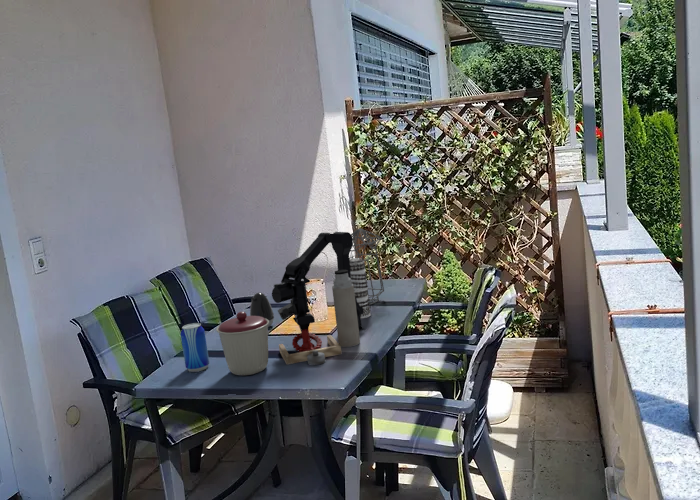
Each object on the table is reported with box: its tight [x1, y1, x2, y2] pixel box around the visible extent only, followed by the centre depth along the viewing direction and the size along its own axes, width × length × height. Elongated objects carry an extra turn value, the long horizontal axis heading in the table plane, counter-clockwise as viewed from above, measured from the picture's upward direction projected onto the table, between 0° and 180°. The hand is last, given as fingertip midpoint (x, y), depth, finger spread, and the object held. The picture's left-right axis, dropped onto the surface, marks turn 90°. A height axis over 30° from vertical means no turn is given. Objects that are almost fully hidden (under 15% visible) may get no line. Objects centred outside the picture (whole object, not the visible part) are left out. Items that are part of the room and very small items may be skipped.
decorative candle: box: [350, 257, 372, 320], centre depth 279 cm, size 9×9×25 cm
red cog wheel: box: [291, 328, 323, 353], centre depth 240 cm, size 11×12×8 cm
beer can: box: [180, 322, 210, 373], centre depth 234 cm, size 8×8×16 cm
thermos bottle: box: [331, 269, 361, 348], centre depth 242 cm, size 8×8×28 cm
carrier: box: [278, 334, 343, 366], centre depth 235 cm, size 20×22×4 cm
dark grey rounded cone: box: [249, 292, 275, 328], centre depth 279 cm, size 10×10×15 cm
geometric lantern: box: [349, 228, 385, 306], centre depth 300 cm, size 16×16×35 cm
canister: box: [215, 311, 269, 376], centre depth 225 cm, size 18×18×21 cm
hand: (304, 336), depth 246 cm, fingers closed
